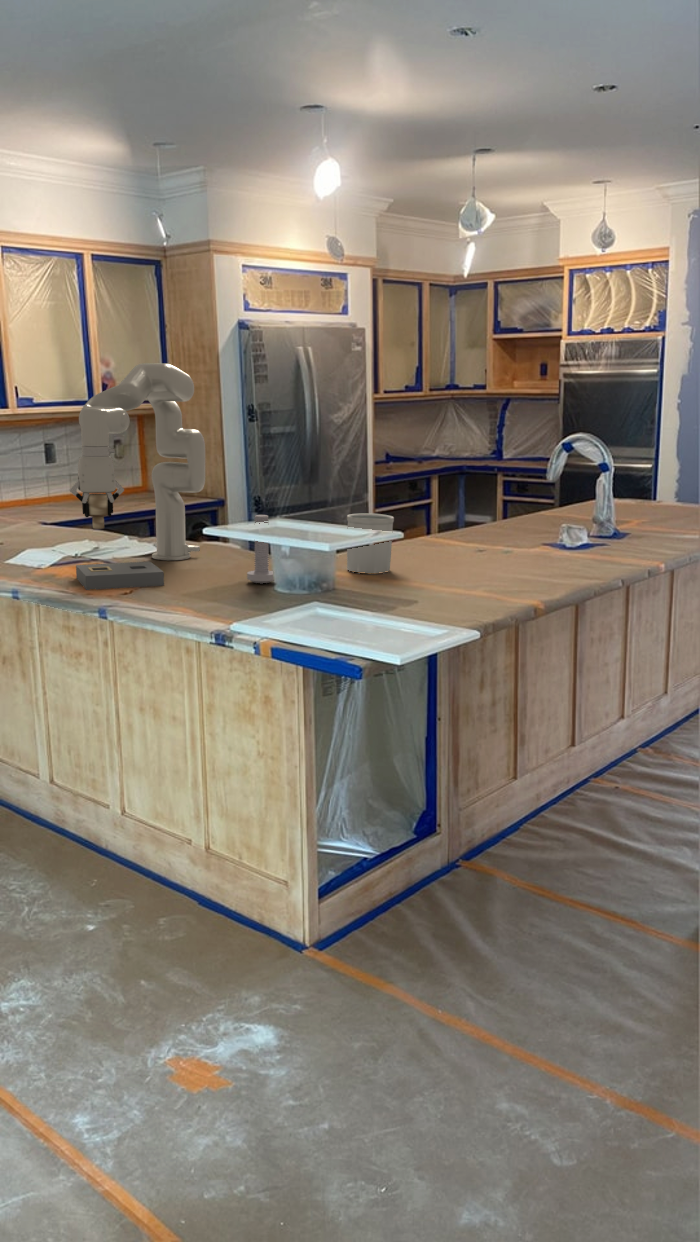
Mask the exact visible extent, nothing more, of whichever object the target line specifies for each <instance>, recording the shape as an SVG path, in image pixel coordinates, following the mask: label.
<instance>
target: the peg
mask: <svg viewBox="0 0 700 1242" xmlns="http://www.w3.org/2000/svg"><path fill="white" fill-rule="evenodd" d="M87 503H88V504H89V517H91V518H92V519H91V520H92V529H95V530H98V529H99V530H101V529H105V517H109V516H108V498H107V494H106V493H89V496H88V499H87Z"/></svg>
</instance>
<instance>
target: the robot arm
mask: <svg viewBox="0 0 700 1242" xmlns="http://www.w3.org/2000/svg"><path fill="white" fill-rule="evenodd" d="M194 384H195V383H194V380H193V378H191V376H190V374H188V373H186V372H184V371H183V370H181V369H180V368H178V367H176V366H174V365H172V364H170V363H159V362H158V363H155V362H153V363H150V362H145V363H139V364H136V365H135V366H133V368H132V369H131V370H130V371H129V373H127V375H126V376H125V377H124V378H123V379H122V381H121V382H120V383H119V384H118V385H115V386H112V387H110V388H108V389H106V390H104V391H103V390H102V391H101V392H99V393H97V394H95V395H93V396H91V398H89V400H88V401H87V402H85V404H84V405H83V406H82V408H81V410H80V412H79V415H78V423H79V426H80V430H81V431H80V434H81V436H80V437H81V456H80V457H79V458H78V464H77V465H78V466H77V481H76V482H74V484H73V485H72V486H71V487H70V489H69V493H71V494H72V495H73V496H75V498H77V499H78V500H79V501H80V502H81V503H82V504H81V505H82V506H81V508H82V515H84V517H85V518H89V517H90V516H89V504H88V503H87V499H88V496H89V494H107V498H108V516H107V517H112V514H114V502H115V501H116V499H118V498H119V497H120V495H122V494H123V492H125V488H124V487H123V486H122V485H121V484H120V483H119V482H118V481H117V480H116V475H115V474H116V472H115V465H114V460H113V458H112V456H111V455H112V454H115V453H116V451H115V448H112V447H110V434H114V435H117V434H118V435H120V434H122V433H125V432H126V431H127V429H128V428H129V426H130V424H131V423H130V416H129V414H128V411H131V410H135V409H137V408H139V407H140V406H141V405H142V404H143V403H144V401H145V400H147V401H148V402H149V404H150V405H151V408H152V409H153V412H154V417H155V446H156V452H157V454H158V455H159V456H160V457H163V458H169V459H183V460H184V459H186V461H187V462H180V461H179V462H178V461H176V462H175V461H164V462H163V461H162V462H159V463H157V464H156V465H154V466H153V468H152V471H151V482H152V486H153V490H154V501H155V503H154V504H155V529H156V530H155V533H156V540H155V542H156V551H155V552H154V553H152V554H151V558H152V559H154V560H159V561H183V560H187V559H191V552H201V551H200V550H201V547H200V545H190V544H188V543H186V507H185V506H186V505H185V502H184V499H183V498H182V496H181V494H180V493H193V494H194V493H200V492H201V491H203V490H204V487H205V484H206V442H205V438H204V436H203V434H202V432H201V431H199V430H198V429H194V428H183V415H182V414H183V413H182V411H181V408H180V406H179V404H178V403H177V402H179V403H181V402H183V403H184V402H185V403H186V402H188V401H190V400H191V399H192V397H193V396H194V393H195V385H194ZM116 488H117V490H116ZM77 490H78V491H80V492H81V493H82V494H80V493H79V492H78V491H77Z"/></svg>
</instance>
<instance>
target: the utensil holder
mask: <svg viewBox="0 0 700 1242" xmlns="http://www.w3.org/2000/svg"><path fill="white" fill-rule="evenodd" d="M346 520H347V528H348V527H354V528H362V529H372V530H382V531H392V532H393V530H394V529H393V527H394V522H395V517H394V516H392V515H387V514H381V513H371V512H370V513H369V512H368V513H365V512H364V513H352V514H350V513H349V514H347V515H346ZM392 544H393V540H392V541H389V542H384V543H379V544H375V545H370V546H363V547H358V548H352V549H347V548H346V569H347V571H348V570H349V571H348V572H350V571H355V572H365V573H379V572H385V571H389V570H391V560H392V559H391V558H392ZM389 572H390V571H389Z"/></svg>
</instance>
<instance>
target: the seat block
mask: <svg viewBox="0 0 700 1242" xmlns="http://www.w3.org/2000/svg"><path fill="white" fill-rule="evenodd" d="M75 573H76V575H75V576H76V579H77V581H78V582H79V583H80V584H81V586H82V587H83V586H84V587H83V588H84V590H86V591H91V590H90V589H96V590H107V589H108V590H110V589H111V588H113V589H125V588H127V589H129V588H141V587H143V588H144V587H145V588H146V587H158V586H159V587H160V586H165V578H164V577H165V575H164V573H165V572H164V571H163V570H162V569H161V568H159V567H158V566H157V565H155V564H154V563H152V562H151V561H133V562H132V561H131V562H129V561H128V562H111V563H110V562H109V563H92V564H76V565H75Z"/></svg>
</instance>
